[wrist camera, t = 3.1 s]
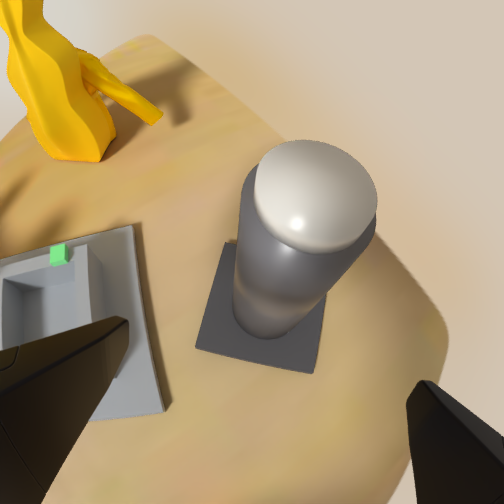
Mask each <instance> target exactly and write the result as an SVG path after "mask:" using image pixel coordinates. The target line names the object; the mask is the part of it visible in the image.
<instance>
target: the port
mask: <svg viewBox="0 0 504 504" xmlns="http://www.w3.org/2000/svg"><path fill="white" fill-rule="evenodd" d="M115 315H117V316H120V317H123V318H126V319H128V321H129V346H128V349H127V351H126V353H125V355H124V357H123V360H122V362H121V364H120V366H119V368H118V370H117V372H116V374H115V376H114V378H113V381H112V383H111V385H110V387H109V389H108V390H107V392H106V394H105V395H104V397H103V398H102V400H101V402H100V403H99V405H98V406H97V408H96V410H95V411H94V413H93V415H92V416H91V418H90V419H89V421H98V420H109V419H119V418H128V417H136V416H143V415H150V414H157V413H163V412H166V411H165V407H164V403H163V399H162V395H161V391H160V387H159V383H158V378H157V374H156V369H155V365H154V360H153V355H152V350H151V345H150V340H149V334H148V329H147V323H146V317H145V311H144V305H143V298H142V291H141V284H140V277H139V269H138V261H137V252H136V242H135V232H134V228H133V226H132V225H130V226H126V227H122V228H117V229H113V230H109V231H105V232H100V233H96V234H92V235H88V236H84V237H80V238H76V239H72V240H68V241H65V242H61V243H57V244H53V245H49V246H46V247H42V248H38V249H35V250H31V251H28V252H24V253H21V254H17V255H14V256H10V257H7V258H3V259H0V350H4V349H8V348H11V347H14V346H20V345H21V344H25V343H28V342H31V341H35V340H38V339H41V338H44V337H48V336H51V335H54V334H57V333H61V332H64V331H67V330H70V329H74V328H77V327H80V326H83V325H86V324H89V323H93V322H96V321H99V320H102V319H105V318H108V317H112V316H115Z"/></svg>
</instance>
